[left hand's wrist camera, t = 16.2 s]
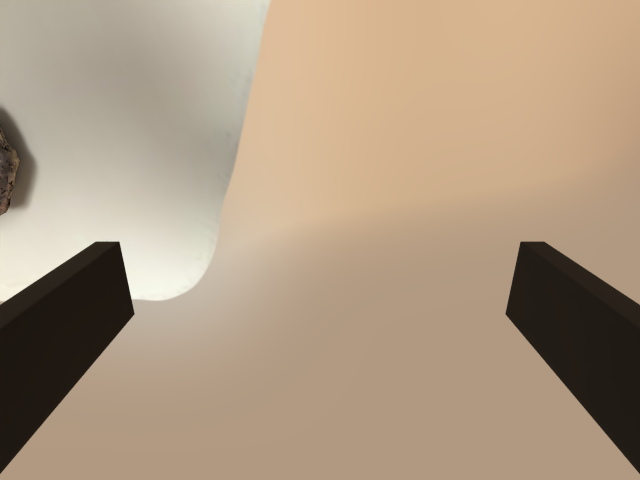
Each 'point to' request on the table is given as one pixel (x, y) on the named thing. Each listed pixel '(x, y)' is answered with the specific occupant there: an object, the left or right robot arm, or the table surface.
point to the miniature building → (7, 172)
